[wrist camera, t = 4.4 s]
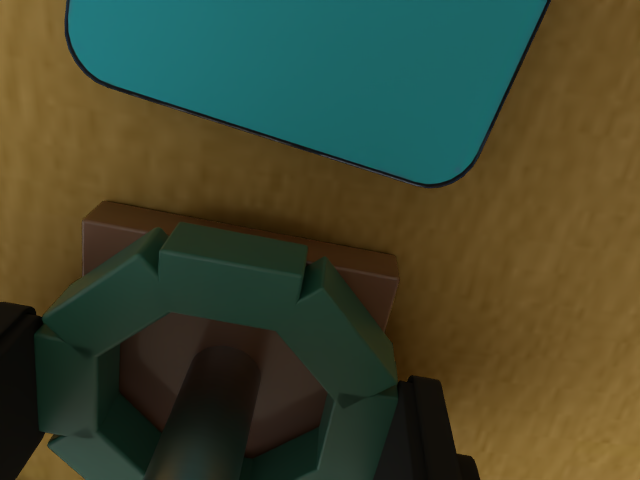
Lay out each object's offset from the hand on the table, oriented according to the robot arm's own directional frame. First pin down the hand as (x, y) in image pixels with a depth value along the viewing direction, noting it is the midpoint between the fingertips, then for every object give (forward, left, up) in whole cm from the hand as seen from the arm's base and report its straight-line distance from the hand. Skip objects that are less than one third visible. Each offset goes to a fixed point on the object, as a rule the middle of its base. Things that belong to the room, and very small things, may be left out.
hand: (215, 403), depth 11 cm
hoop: (0, 0, -1) cm, 1 cm away
